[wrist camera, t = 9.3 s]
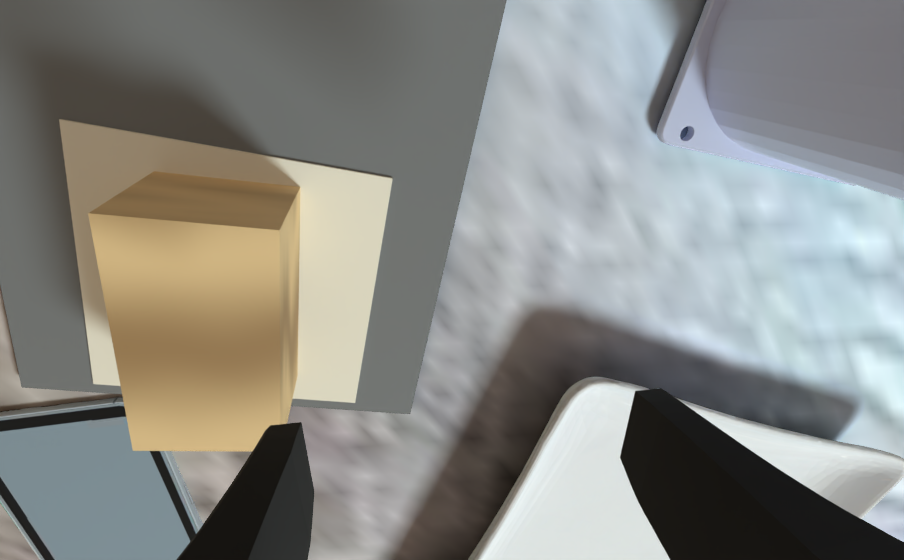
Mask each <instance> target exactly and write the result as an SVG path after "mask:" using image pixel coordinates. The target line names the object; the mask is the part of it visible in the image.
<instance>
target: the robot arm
mask: <svg viewBox="0 0 904 560" xmlns="http://www.w3.org/2000/svg"><path fill="white" fill-rule="evenodd" d="M686 126H687V127H688V132H687V134H686V136H685V137H683V138H682V139H681V137H680V134H681V131H682V130H683V128H685V127H686ZM657 137H658V139H659V140H660V141H661V142H663V143H666V144H668V145H672V146H677V147H681V148H686V149H690V150H695V151H700V152H704V153H709V154H713V155H718V156H722V157H727V158H731V159H736V160H740V161H745V162H749V163H754V164H758V165H763V166H767V167H772V168H777V169H781V170H786V171H790V172H795V173H799V174H804V175H808V176H813V177H817V178H822V179H826V180H831V181H835V182H840V183H844V184H849V185H853V186H855V185H858V186H861V187H864V188H867V189H870V190H873V191H876V192H880V193H883V194H886V195H889V196H892V197H895V198H898V199H901V200H904V0H707V1H706V4H705V6H704V9H703V12H702V14H701V17H700V19H699V22H698V24H697V27H696V30H695V32H694V35H693V37H692V40H691V42H690V45H689V47H688V50H687V53H686V55H685V58H684V60H683V63H682V65H681V68H680V71H679V73H678V76H677V78H676V81H675V83H674V86H673V89H672V91H671V94H670V96H669V99H668V101H667V104H666V106H665V109H664V112H663V114H662V117H661V119H660V122H659V124H658V128H657ZM620 459H621V461H622V464H623V467H624V469H625V472H626V474H627V477H628V479H629V482H630V484H631V486H632V489H633V491H634V493H635V496H636V498H637V500H638V503H639V504H640V506H641V508H642V510H643V512H644V514H645V515H646V517H647V519H648V521H649V523H650V524H651V526H652V528H653V530H654V532H655V534H656V535H657V537H658V539H659V541H660V542H661V544H662V546H663V548H664V550H665V551H666V553H667V555H668V557H669V558H670V560H904V542H902V541H900V540H898V539H896V538H895V537H893V536H891V535H889V534H887V533H885V532H884V531H882V530H880V529H878V528H876V527H875V526H873V525H871V524H869V523H867V522H866V521H864V520H862V519H860V518H858V517H857V516H855V515H853V514H851V513H850V512H848V511H846V510H844V509H842V508H841V507H839V506H837V505H836V504H834V503H832V502H831V501H829V500H827V499H826V498H824V497H822V496H821V495H819V494H817V493H816V492H814V491H813V490H811V489H809V488H808V487H806V486H805V485H803V484H801V483H800V482H798V481H797V480H795V479H793V478H792V477H790V476H789V475H787V474H786V473H784V472H782V471H781V470H779V469H778V468H776V467H775V466H773V465H772V464H770V463H769V462H767V461H766V460H764V459H763V458H761V457H760V456H758V455H757V454H755V453H754V452H752V451H751V450H749V449H748V448H747V447H745V446H744V445H742V444H741V443H739V442H738V441H736V440H735V439H733V438H732V437H731V436H729V435H728V434H726V433H725V432H723V431H722V430H721V429H719V428H718V427H716V426H715V425H713V424H712V423H711V422H709V421H708V420H706V419H705V418H704V417H702V416H701V415H699V414H698V413H696V412H695V411H694V410H692V409H691V408H689V407H688V406H686V405H685V404H684V403H682V402H681V401H679V400H678V399H676V398H675V397H673V396H672V395H670V394H669V393H667V392H666V391H664V390H663V389H650V390H640V391H635V394H634V398H633V403H632V407H631V411H630V416H629V420H628V424H627V429H626V433H625V437H624V442H623V446H622V450H621V455H620ZM313 502H314V488H313V482H312V477H311V472H310V466H309V461H308V456H307V450H306V445H305V440H304V434H303V429H302V423H301V422H300V423H290V424H279V425H270V426H269V427H268V428H267V429H266V430H265V432H264V433H263V435H262V437H261V438H260V440H259V442H258V443H257V445H256V447H255V448H254V450H253V451H252V453H251V455H250V456H249V458H248V459H247V461H246V463H245V464H244V466H243V467H242V469H241V470H240V472H239V473H238V475H237V476H236V478H235V479H234V481H233V482H232V484H231V485H230V487H229V488H228V490H227V491H226V493H225V494H224V496H223V497H222V498H221V500H220V501H219V503H218V504H217V506H216V507H215V508H214V510H213V511H212V513H211V514H210V516H209V517H208V518H207V520H206V521H205V523H204V524H203V525H202V527H201V528H200V530H199V531H198V532H197V534H196V535H195V536H194V537H193V539H192V540H191V541H190V543H189V544H188V545H187V547H186V548H185V549H184V551H183V552H182V553H181V554H180V556H179V557H178V558H177V560H307V559H308V553H309V548H310V541H311V529H312V516H313Z"/></svg>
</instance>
